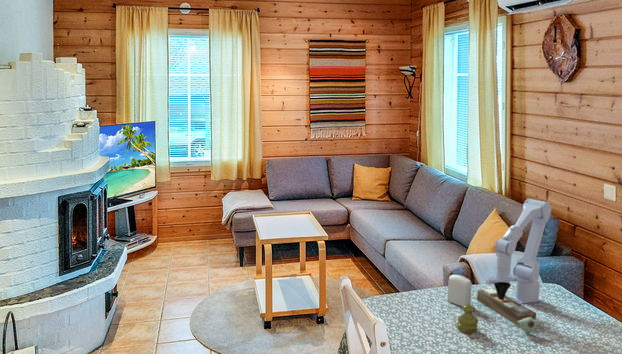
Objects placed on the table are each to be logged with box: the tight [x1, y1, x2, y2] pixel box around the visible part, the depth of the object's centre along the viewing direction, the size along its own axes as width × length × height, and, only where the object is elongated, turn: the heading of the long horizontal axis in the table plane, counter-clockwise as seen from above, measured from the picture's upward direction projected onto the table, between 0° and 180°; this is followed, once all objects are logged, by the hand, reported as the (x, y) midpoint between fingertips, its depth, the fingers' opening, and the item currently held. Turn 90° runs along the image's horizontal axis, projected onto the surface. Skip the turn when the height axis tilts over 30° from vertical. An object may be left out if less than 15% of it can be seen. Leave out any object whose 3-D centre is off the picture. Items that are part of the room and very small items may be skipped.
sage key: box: [503, 302, 518, 307], centre depth 237 cm, size 4×4×2 cm
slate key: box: [513, 305, 531, 314], centre depth 231 cm, size 4×4×2 cm
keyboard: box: [476, 288, 537, 327], centre depth 240 cm, size 8×28×4 cm, turn 19°
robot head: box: [517, 317, 539, 335], centre depth 219 cm, size 8×4×7 cm, turn 96°
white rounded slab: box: [447, 274, 472, 307], centre depth 247 cm, size 10×4×12 cm, turn 39°
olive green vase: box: [456, 303, 479, 334], centre depth 222 cm, size 7×7×10 cm
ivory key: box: [483, 288, 497, 295], centre depth 249 cm, size 4×4×2 cm
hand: (500, 298), depth 243 cm, fingers closed, pressing on terracotta key
